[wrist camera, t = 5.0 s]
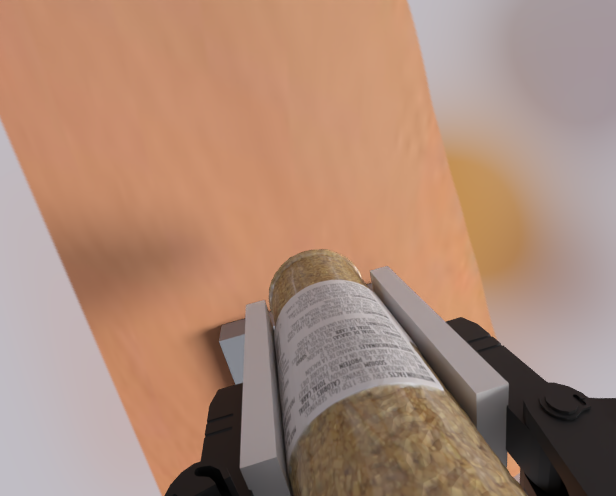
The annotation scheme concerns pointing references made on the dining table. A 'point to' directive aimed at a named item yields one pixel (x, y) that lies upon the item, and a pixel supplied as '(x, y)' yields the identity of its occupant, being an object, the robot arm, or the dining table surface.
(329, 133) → the dining table surface
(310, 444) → the sprinkles bottle
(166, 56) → the dining table surface
